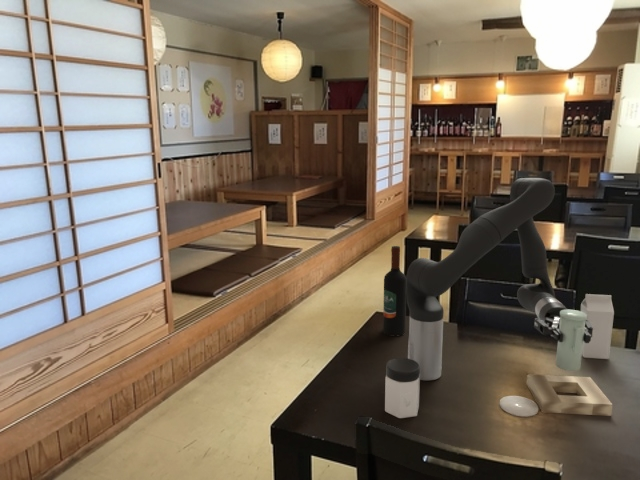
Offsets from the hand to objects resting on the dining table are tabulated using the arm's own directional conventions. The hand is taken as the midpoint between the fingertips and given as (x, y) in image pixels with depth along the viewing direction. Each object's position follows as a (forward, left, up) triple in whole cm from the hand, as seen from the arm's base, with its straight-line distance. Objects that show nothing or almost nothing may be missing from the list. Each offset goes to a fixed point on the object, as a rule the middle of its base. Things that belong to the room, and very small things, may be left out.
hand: (574, 338), depth 126 cm
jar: (-42, -6, -18) cm, 46 cm away
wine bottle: (-43, +44, -18) cm, 64 cm away
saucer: (-13, -2, -18) cm, 22 cm away
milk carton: (+17, +32, -18) cm, 40 cm away
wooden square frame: (0, +3, -18) cm, 18 cm away
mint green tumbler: (0, +3, -8) cm, 9 cm away
